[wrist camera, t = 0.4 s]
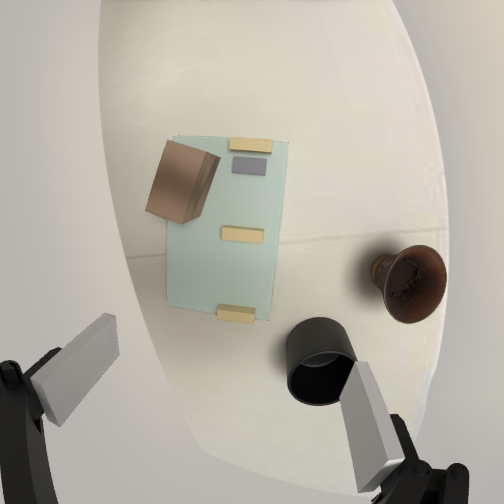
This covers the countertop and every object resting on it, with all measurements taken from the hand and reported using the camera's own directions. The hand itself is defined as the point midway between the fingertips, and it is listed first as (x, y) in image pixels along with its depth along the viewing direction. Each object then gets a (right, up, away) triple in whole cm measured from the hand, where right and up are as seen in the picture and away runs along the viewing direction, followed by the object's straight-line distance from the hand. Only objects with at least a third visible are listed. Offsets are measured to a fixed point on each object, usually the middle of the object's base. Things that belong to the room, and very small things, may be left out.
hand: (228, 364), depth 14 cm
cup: (+21, +4, +23) cm, 31 cm away
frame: (-6, +15, +21) cm, 27 cm away
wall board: (-3, +9, +23) cm, 25 cm away
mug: (+11, -9, +27) cm, 31 cm away
